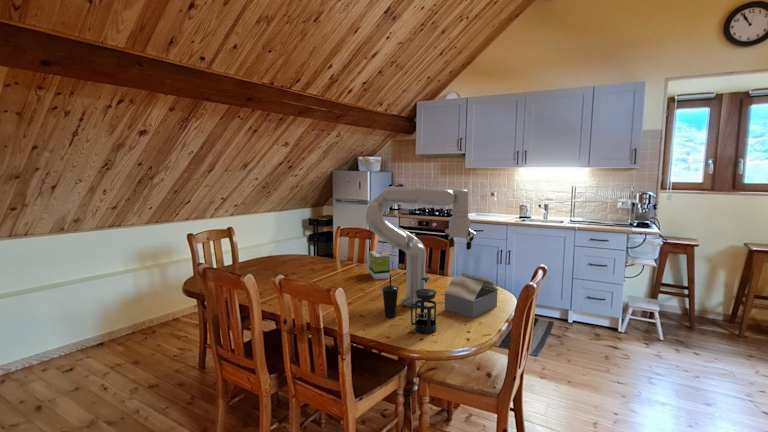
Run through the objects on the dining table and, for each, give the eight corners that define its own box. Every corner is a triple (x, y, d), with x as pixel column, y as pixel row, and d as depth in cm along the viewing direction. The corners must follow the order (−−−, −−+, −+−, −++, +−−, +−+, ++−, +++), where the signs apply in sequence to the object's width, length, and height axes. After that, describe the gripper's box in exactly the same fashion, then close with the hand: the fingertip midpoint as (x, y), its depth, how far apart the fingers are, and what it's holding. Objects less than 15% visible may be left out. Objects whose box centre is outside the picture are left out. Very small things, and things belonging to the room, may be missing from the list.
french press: (433, 324, 183) (434, 274, 180) (441, 332, 174) (442, 280, 171) (407, 326, 180) (408, 275, 177) (414, 335, 171) (415, 282, 168)
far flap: (489, 280, 198) (490, 279, 198) (461, 274, 209) (461, 272, 209) (497, 290, 204) (498, 289, 205) (469, 284, 215) (470, 282, 216)
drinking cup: (388, 312, 197) (389, 271, 195) (401, 316, 193) (401, 274, 190) (378, 316, 192) (378, 275, 189) (391, 320, 187) (391, 278, 184)
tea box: (368, 273, 266) (368, 251, 264) (383, 272, 269) (383, 250, 267) (374, 279, 251) (374, 256, 249) (390, 278, 254) (390, 255, 252)
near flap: (473, 301, 189) (473, 300, 188) (445, 293, 200) (444, 292, 199) (483, 283, 194) (483, 281, 193) (455, 276, 205) (454, 275, 204)
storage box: (473, 318, 190) (473, 301, 189) (444, 309, 201) (445, 293, 200) (496, 306, 206) (497, 290, 204) (469, 298, 217) (469, 284, 215)
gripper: (441, 213, 206) (441, 247, 209) (472, 216, 195) (471, 251, 197) (449, 212, 212) (449, 244, 214) (479, 214, 201) (479, 249, 203)
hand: (460, 248), depth 206 cm, fingers open, 9 cm apart
